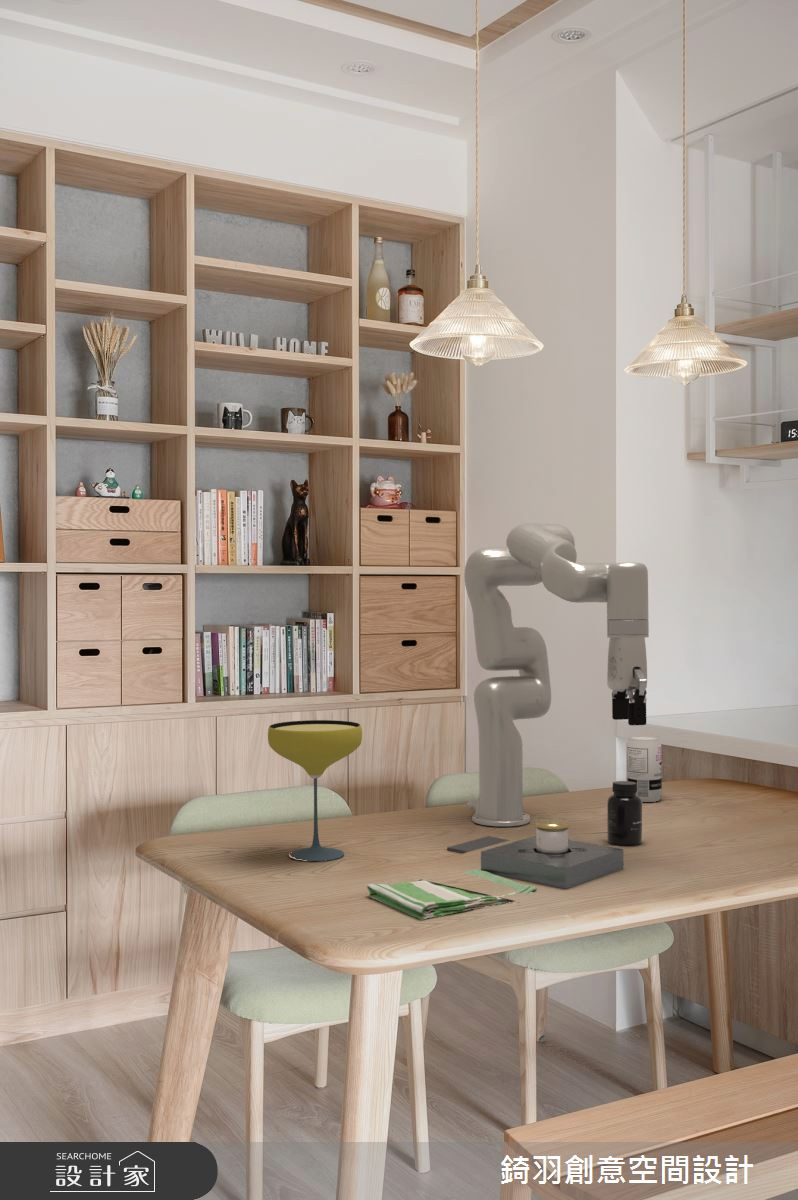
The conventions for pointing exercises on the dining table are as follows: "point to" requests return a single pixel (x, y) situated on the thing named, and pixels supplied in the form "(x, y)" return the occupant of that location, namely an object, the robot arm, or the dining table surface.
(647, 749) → the supplement can
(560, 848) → the can with gold end
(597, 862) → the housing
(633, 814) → the supplement bottle
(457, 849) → the mat
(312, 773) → the cocktail glass
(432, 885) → the dish towel
